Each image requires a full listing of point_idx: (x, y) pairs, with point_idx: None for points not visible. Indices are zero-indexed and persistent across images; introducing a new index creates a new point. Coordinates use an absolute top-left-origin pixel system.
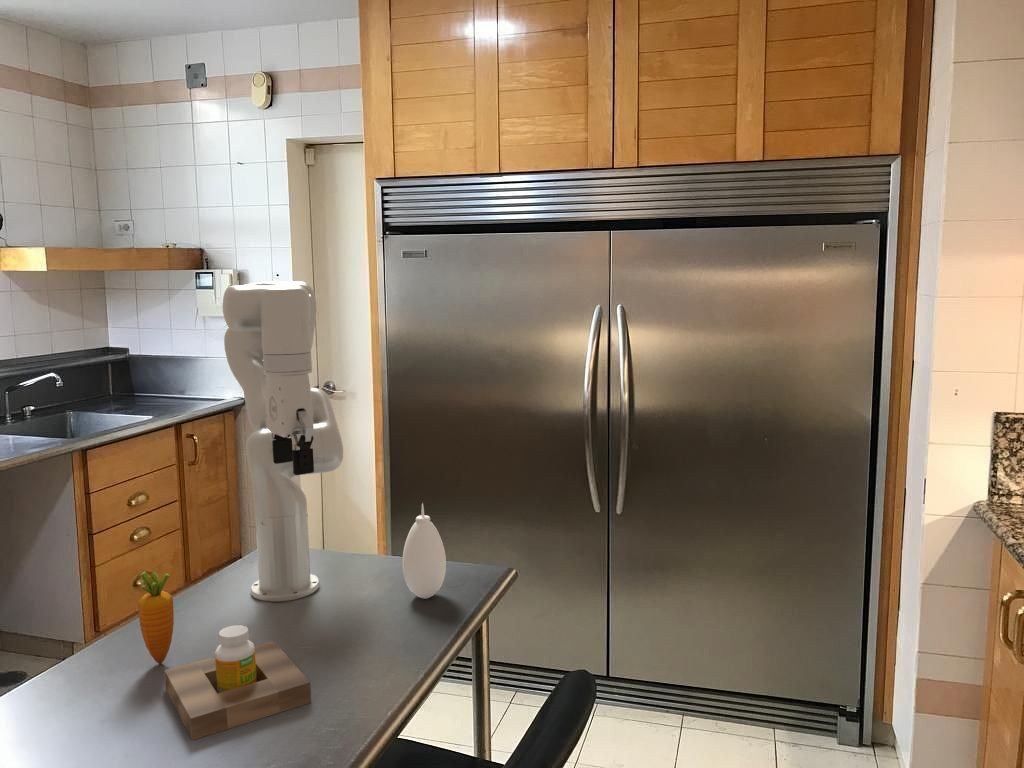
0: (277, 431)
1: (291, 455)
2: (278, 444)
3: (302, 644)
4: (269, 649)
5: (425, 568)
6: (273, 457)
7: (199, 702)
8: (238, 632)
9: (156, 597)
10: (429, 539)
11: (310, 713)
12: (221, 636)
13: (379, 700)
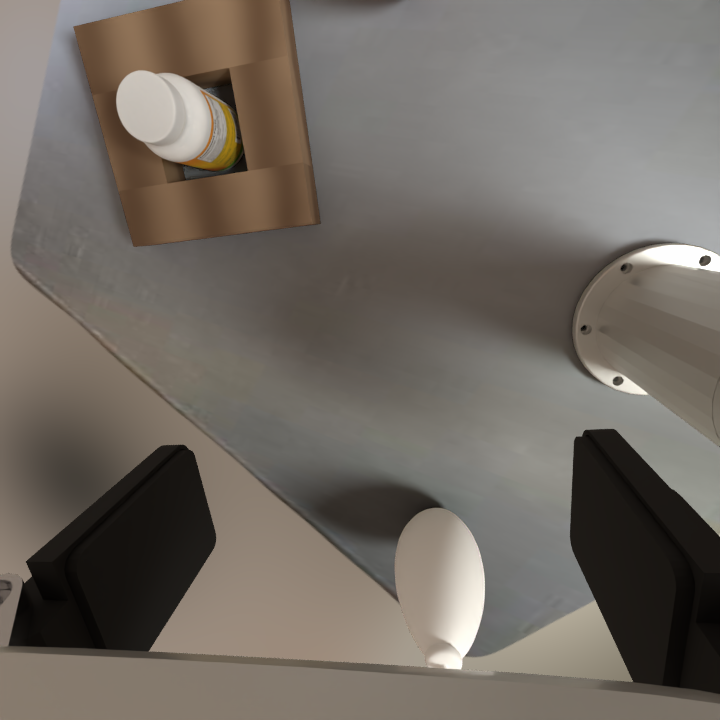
0: (34, 711)
1: (587, 572)
2: (649, 576)
3: (355, 283)
4: (277, 208)
5: (397, 556)
6: (623, 448)
7: (122, 47)
8: (133, 117)
9: None
10: (405, 617)
11: (126, 236)
12: (127, 75)
13: (131, 332)
